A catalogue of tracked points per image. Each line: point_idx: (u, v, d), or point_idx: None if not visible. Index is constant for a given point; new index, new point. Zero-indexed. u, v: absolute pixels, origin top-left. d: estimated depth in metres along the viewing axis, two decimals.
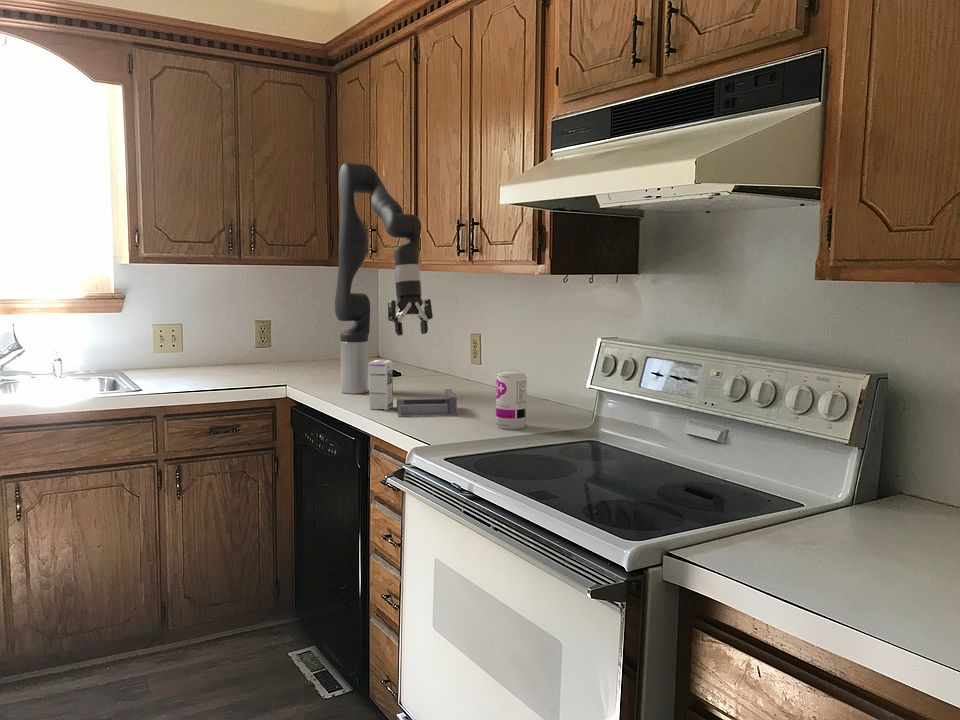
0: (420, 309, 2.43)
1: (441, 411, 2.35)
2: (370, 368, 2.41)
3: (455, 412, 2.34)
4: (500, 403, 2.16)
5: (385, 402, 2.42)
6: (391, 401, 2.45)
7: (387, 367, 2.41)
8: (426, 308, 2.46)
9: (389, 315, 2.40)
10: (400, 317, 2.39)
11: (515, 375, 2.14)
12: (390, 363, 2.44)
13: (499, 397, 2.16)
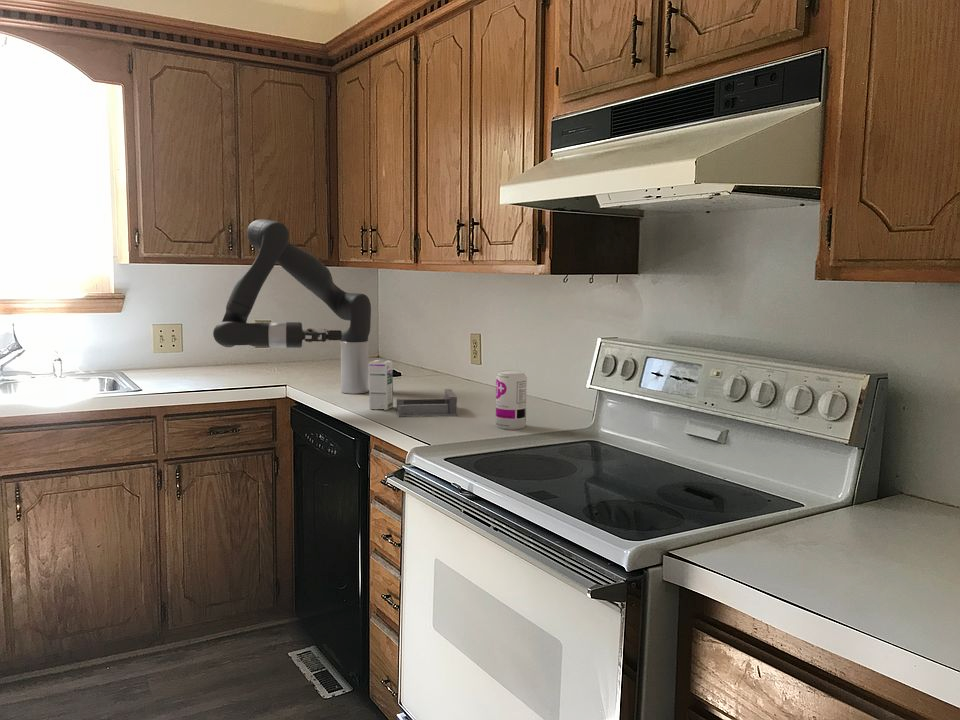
0: (316, 341, 2.37)
1: (441, 411, 2.35)
2: (370, 368, 2.41)
3: (455, 412, 2.34)
4: (500, 403, 2.16)
5: (385, 402, 2.42)
6: (391, 401, 2.45)
7: (387, 367, 2.41)
8: None
9: None
10: None
11: (515, 375, 2.14)
12: (390, 363, 2.44)
13: (499, 397, 2.16)
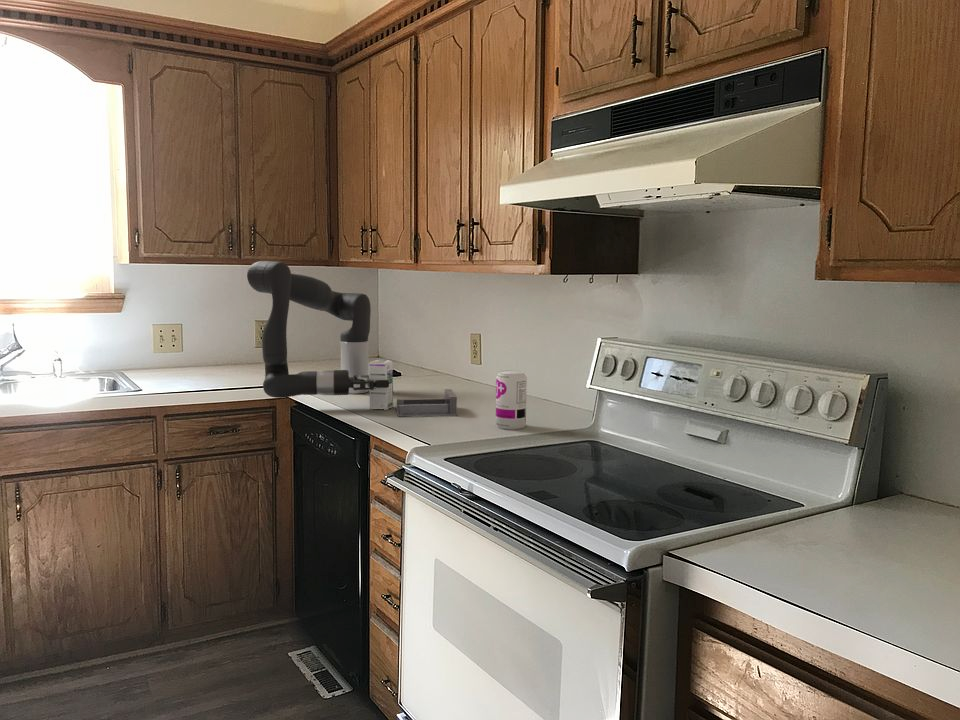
0: None
1: (441, 411, 2.35)
2: (370, 368, 2.41)
3: (455, 412, 2.34)
4: (500, 403, 2.16)
5: (385, 402, 2.42)
6: (391, 401, 2.45)
7: (387, 367, 2.41)
8: None
9: None
10: None
11: (515, 375, 2.14)
12: (390, 363, 2.44)
13: (499, 397, 2.16)
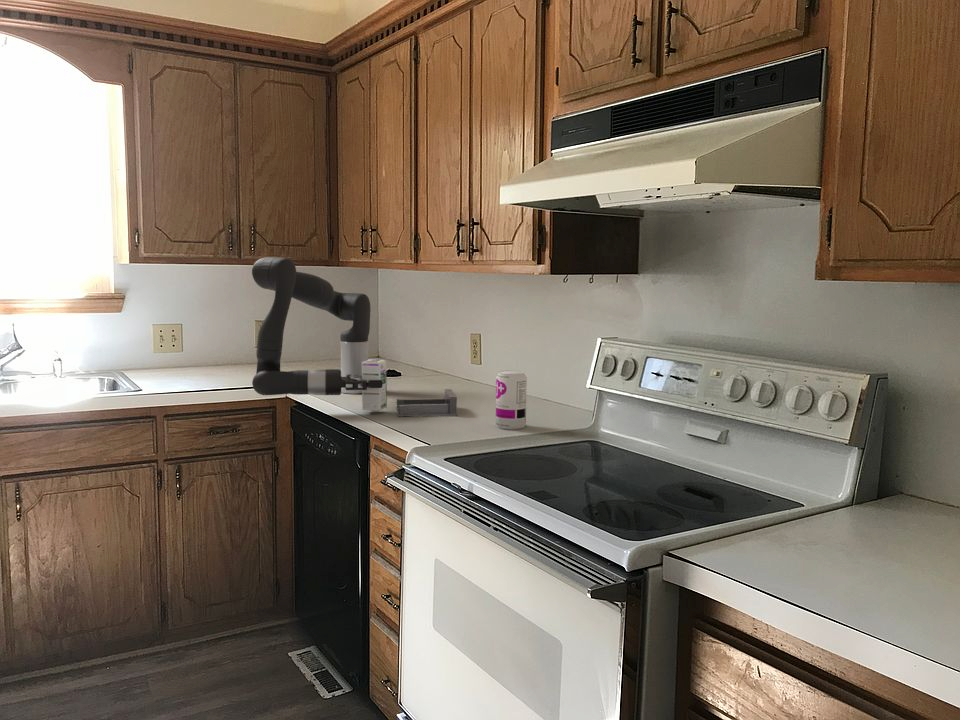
0: None
1: (441, 411, 2.35)
2: (363, 367, 2.34)
3: (455, 412, 2.34)
4: (500, 403, 2.16)
5: (378, 403, 2.34)
6: (384, 402, 2.37)
7: (380, 367, 2.33)
8: None
9: None
10: None
11: (515, 375, 2.14)
12: (384, 363, 2.36)
13: (499, 397, 2.16)
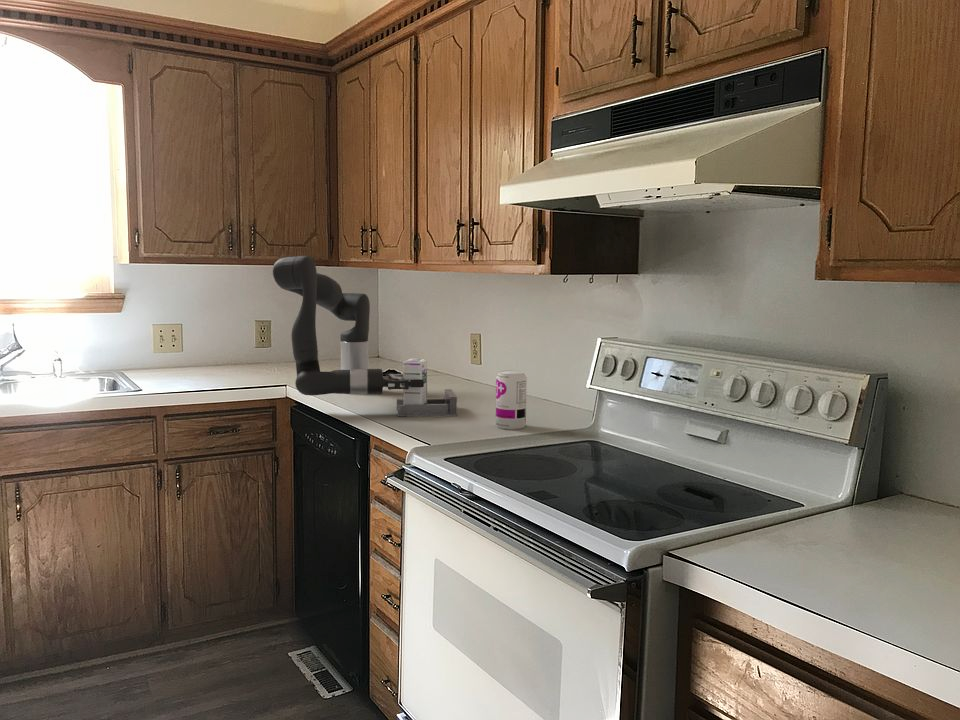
0: None
1: (441, 411, 2.35)
2: (404, 367, 2.35)
3: (455, 412, 2.34)
4: (500, 403, 2.16)
5: (419, 402, 2.36)
6: (425, 401, 2.39)
7: (422, 366, 2.35)
8: None
9: None
10: None
11: (515, 375, 2.14)
12: (425, 362, 2.38)
13: (499, 397, 2.16)
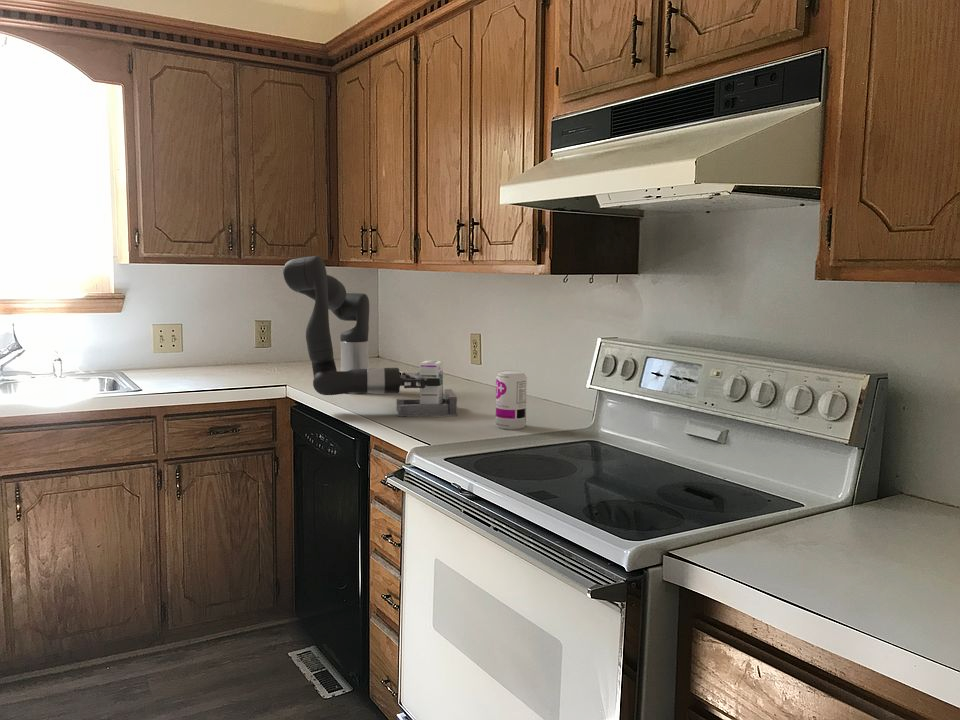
0: None
1: (441, 411, 2.35)
2: (421, 369, 2.36)
3: (455, 412, 2.34)
4: (500, 403, 2.16)
5: None
6: (441, 403, 2.39)
7: (438, 368, 2.36)
8: None
9: None
10: None
11: (515, 375, 2.14)
12: (441, 364, 2.39)
13: (499, 397, 2.16)
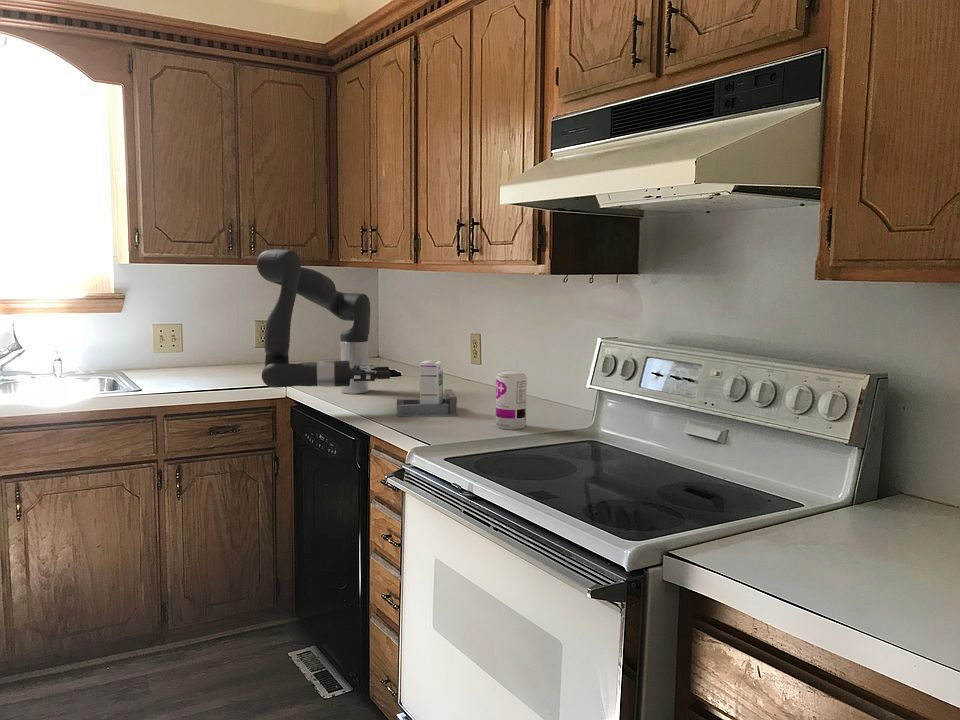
0: None
1: (441, 411, 2.35)
2: (421, 369, 2.36)
3: (455, 412, 2.34)
4: (500, 403, 2.16)
5: None
6: (441, 403, 2.39)
7: (438, 368, 2.36)
8: None
9: None
10: None
11: (515, 375, 2.14)
12: (441, 364, 2.39)
13: (499, 397, 2.16)
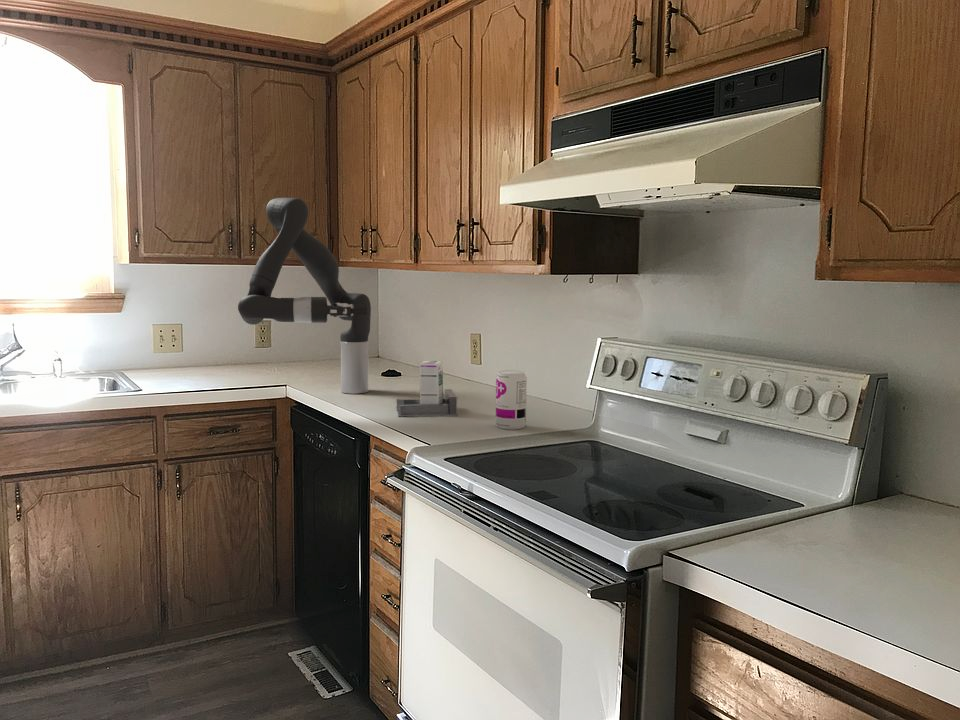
0: None
1: (441, 411, 2.35)
2: (421, 369, 2.36)
3: (455, 412, 2.34)
4: (500, 403, 2.16)
5: None
6: (441, 403, 2.39)
7: (438, 368, 2.36)
8: None
9: None
10: None
11: (515, 375, 2.14)
12: (441, 364, 2.39)
13: (499, 397, 2.16)
